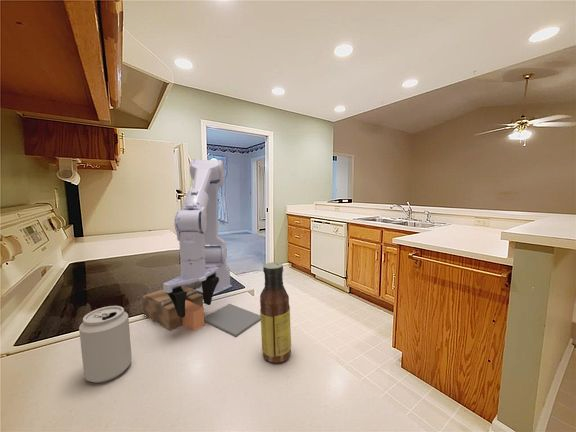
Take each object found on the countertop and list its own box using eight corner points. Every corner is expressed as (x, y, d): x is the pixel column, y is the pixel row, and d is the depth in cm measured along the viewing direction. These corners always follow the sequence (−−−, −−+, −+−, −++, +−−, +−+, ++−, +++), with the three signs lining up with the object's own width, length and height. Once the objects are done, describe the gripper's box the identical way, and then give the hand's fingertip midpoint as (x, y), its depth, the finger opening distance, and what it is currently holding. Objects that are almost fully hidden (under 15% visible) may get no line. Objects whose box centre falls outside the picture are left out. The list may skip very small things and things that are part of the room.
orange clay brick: (171, 319, 67) (170, 301, 66) (181, 314, 69) (180, 297, 68) (194, 331, 61) (193, 312, 60) (204, 325, 63) (203, 307, 63)
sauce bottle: (292, 346, 55) (292, 260, 53) (289, 366, 49) (290, 270, 47) (263, 344, 56) (262, 259, 53) (257, 363, 50) (256, 269, 47)
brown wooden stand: (143, 315, 68) (142, 292, 67) (176, 301, 76) (175, 281, 75) (169, 330, 61) (168, 305, 60) (203, 313, 69) (202, 291, 68)
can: (114, 386, 44) (108, 324, 42) (73, 386, 44) (66, 323, 43) (140, 357, 51) (136, 303, 50) (105, 357, 51) (100, 302, 50)
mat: (229, 305, 74) (229, 303, 74) (262, 318, 67) (262, 316, 67) (201, 320, 66) (201, 318, 66) (235, 337, 58) (235, 334, 58)
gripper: (174, 268, 53) (177, 328, 54) (226, 253, 65) (227, 302, 66) (157, 262, 57) (160, 318, 58) (208, 249, 68) (210, 296, 70)
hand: (194, 309), depth 62 cm, fingers open, 7 cm apart
